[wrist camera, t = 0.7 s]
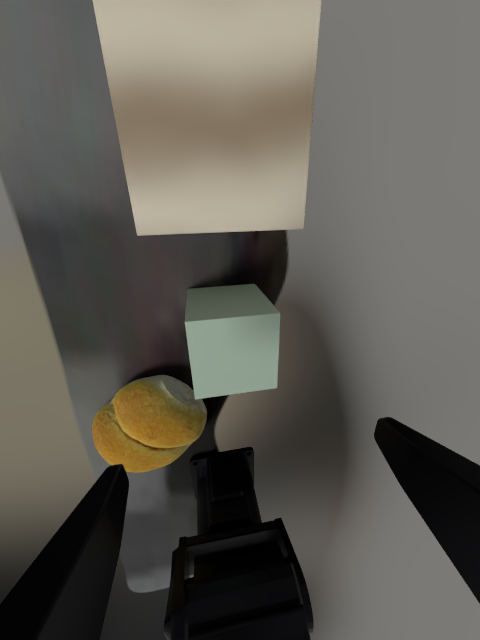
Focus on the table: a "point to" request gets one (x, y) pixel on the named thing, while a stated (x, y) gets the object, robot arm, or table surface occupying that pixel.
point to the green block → (231, 340)
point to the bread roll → (149, 423)
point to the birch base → (212, 110)
